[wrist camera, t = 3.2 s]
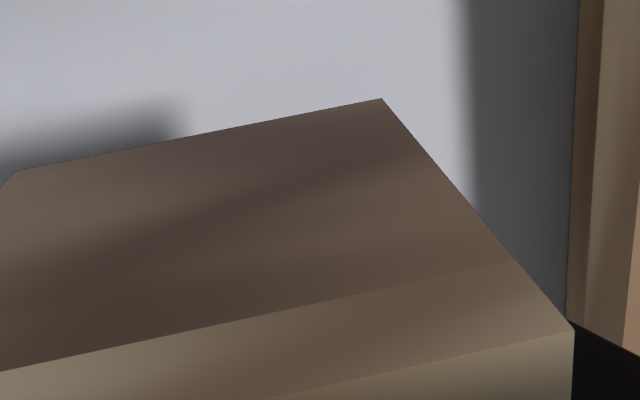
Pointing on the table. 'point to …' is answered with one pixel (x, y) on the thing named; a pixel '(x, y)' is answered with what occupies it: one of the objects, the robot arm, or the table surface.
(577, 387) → the robot arm
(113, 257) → the beige box
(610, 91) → the caddy
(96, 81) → the table surface
